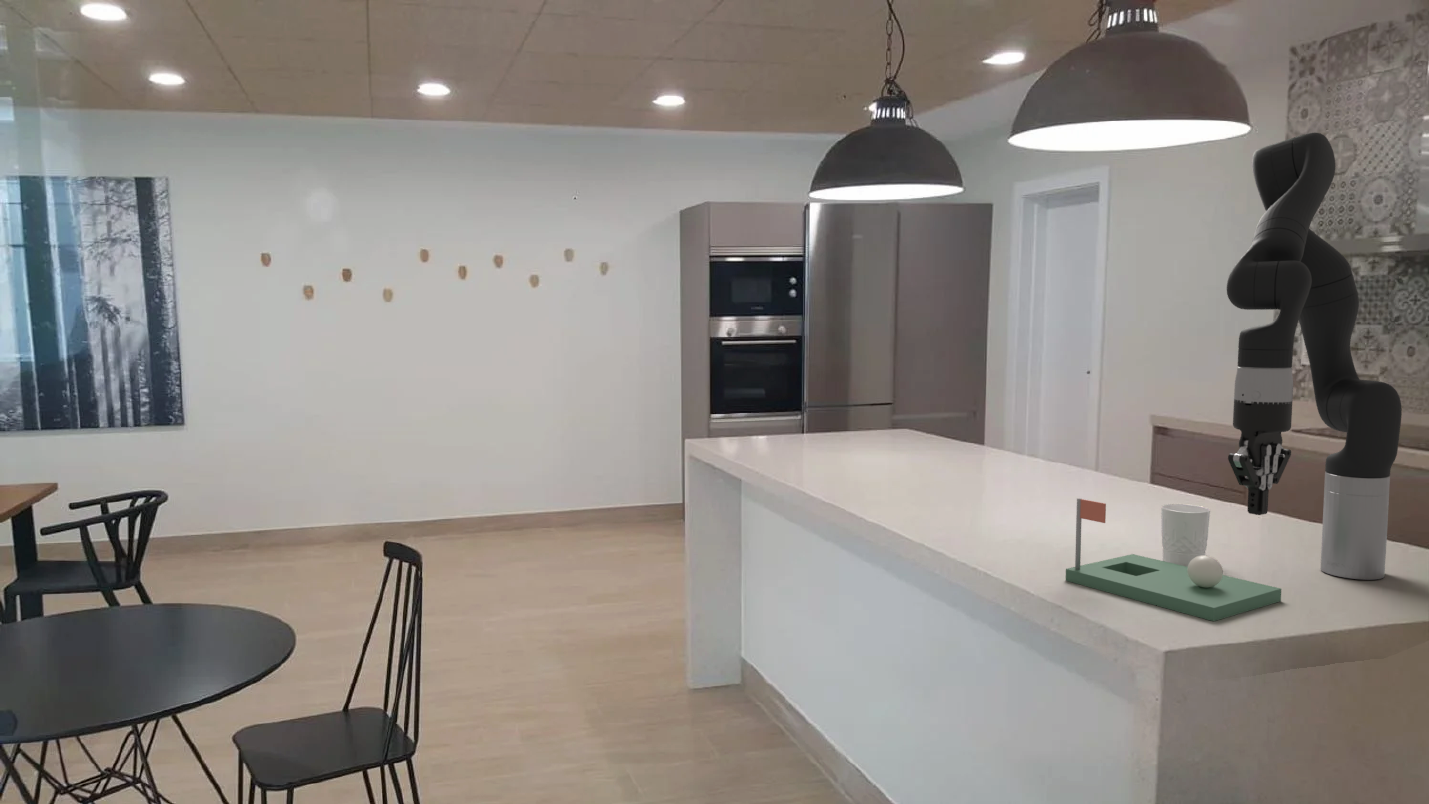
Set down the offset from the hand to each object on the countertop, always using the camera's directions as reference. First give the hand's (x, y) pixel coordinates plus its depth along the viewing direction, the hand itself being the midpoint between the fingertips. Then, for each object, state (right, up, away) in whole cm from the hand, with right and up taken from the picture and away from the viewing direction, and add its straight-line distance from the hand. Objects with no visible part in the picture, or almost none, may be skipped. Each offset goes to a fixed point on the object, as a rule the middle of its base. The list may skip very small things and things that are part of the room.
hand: (1257, 513), depth 144 cm
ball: (-4, -10, +8) cm, 13 cm away
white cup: (+4, -13, +30) cm, 33 cm away
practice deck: (-7, -14, +13) cm, 20 cm away
